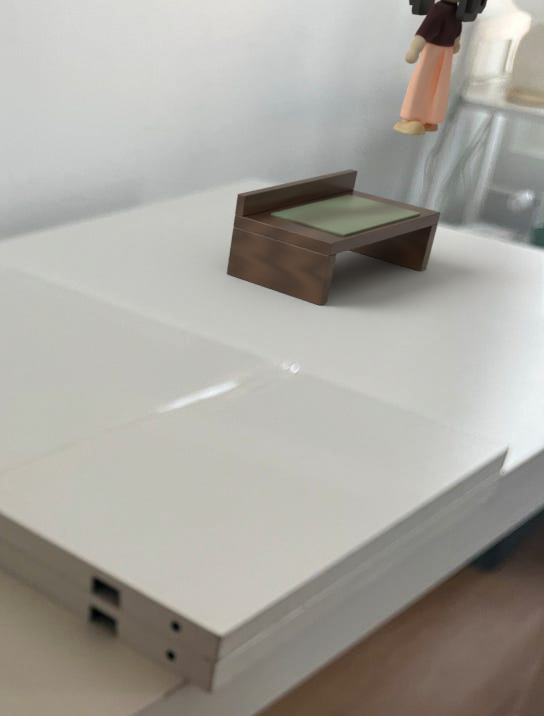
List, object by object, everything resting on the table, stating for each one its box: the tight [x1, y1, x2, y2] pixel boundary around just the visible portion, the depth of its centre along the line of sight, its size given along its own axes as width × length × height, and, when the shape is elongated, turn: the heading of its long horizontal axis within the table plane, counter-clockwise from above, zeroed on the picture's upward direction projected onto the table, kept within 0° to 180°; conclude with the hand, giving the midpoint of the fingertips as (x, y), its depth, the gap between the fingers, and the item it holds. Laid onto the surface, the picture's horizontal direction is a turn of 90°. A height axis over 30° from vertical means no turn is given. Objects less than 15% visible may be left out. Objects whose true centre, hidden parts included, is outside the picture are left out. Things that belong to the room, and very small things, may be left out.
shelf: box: [226, 168, 441, 306], centre depth 109 cm, size 12×20×8 cm, turn 133°
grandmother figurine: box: [392, 0, 463, 136], centre depth 83 cm, size 8×4×13 cm, turn 148°
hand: (443, 16), depth 82 cm, fingers closed on grandmother figurine, 3 cm apart
